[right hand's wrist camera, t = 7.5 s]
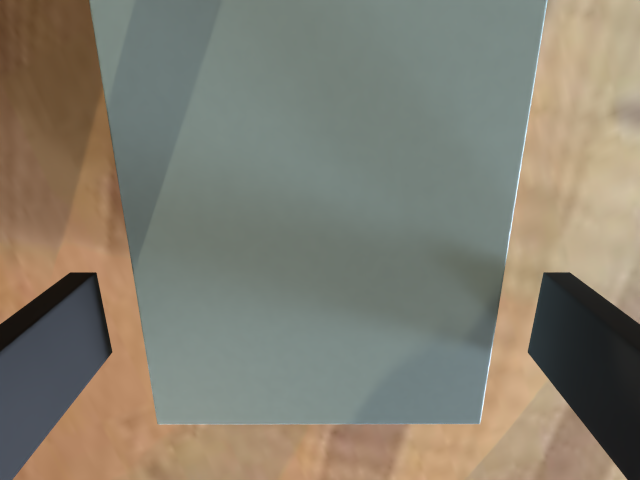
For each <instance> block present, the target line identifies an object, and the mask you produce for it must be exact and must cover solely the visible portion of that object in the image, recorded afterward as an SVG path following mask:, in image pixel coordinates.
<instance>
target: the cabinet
mask: <svg viewBox="0 0 640 480" xmlns="http://www.w3.org/2000/svg"><path fill="white" fill-rule="evenodd" d="M89 3H90V9H91V15H92V21H93V27H94V34H95V40H96V46H97V52H98V58H99V65H100V71H101V77H102V83H103V89H104V95H105V102H106V108H107V114H108V120H109V126H110V133H111V139H112V145H113V151H114V157H115V164H116V170H117V176H118V182H119V188H120V195H121V201H122V207H123V213H124V219H125V226H126V232H127V238H128V244H129V250H130V256H131V263H132V269H133V275H134V281H135V287H136V294H137V300H138V306H139V312H140V318H141V325H142V331H143V337H144V343H145V349H146V356H147V362H148V368H149V374H150V380H151V386H152V393H153V399H154V405H155V411H156V417H157V423H158V424H480V421H481V415H482V408H483V402H484V396H485V389H486V383H487V377H488V370H489V364H490V358H491V352H492V345H493V339H494V333H495V326H496V320H497V314H498V308H499V301H500V295H501V289H502V282H503V276H504V270H505V264H506V257H507V251H508V245H509V238H510V232H511V226H512V220H513V213H514V207H515V201H516V194H517V188H518V182H519V176H520V169H521V163H522V157H523V150H524V144H525V138H526V132H527V125H528V119H529V113H530V106H531V100H532V94H533V88H534V81H535V75H536V69H537V62H538V56H539V50H540V44H541V37H542V31H543V25H544V18H545V12H546V6H547V0H89Z"/></svg>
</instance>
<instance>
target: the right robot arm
mask: <svg viewBox="0 0 640 480" xmlns="http://www.w3.org/2000/svg"><path fill="white" fill-rule="evenodd" d="M111 353H112V348H111V343H110V338H109V333H108V328H107V323H106V318H105V313H104V308H103V303H102V298H101V293H100V288H99V283H98V278H97V273H69V274H68V275H66V276H65V277H64V278H62V279H61V280H59V281H58V282H57V283H55V284H54V285H53V286H51V287H50V288H49V289H47V290H46V291H45V292H43V293H42V294H41V295H39V296H38V297H37V298H35V299H34V300H33V301H31V302H30V303H28V304H27V305H26V306H24V307H23V308H22V309H20V310H19V311H18V312H16V313H15V314H14V315H12V316H11V317H10V318H8V319H7V320H6V321H4V322H3V323H2V324H0V480H12V479H13V478H14V477H15V476H16V474H17V473H18V472H19V471H20V469H21V468H22V467H23V465H24V464H25V463H26V462H27V460H28V459H29V458H30V457H31V455H32V454H33V453H34V451H35V450H36V449H37V448H38V446H39V445H40V444H41V442H42V441H43V440H44V439H45V437H46V436H47V435H48V434H49V432H50V431H51V430H52V428H53V427H54V426H55V425H56V423H57V422H58V421H59V420H60V418H61V417H62V416H63V414H64V413H65V412H66V411H67V409H68V408H69V407H70V405H71V404H72V403H73V402H74V400H75V399H76V398H77V397H78V395H79V394H80V393H81V391H82V390H83V389H84V388H85V386H86V385H87V384H88V383H89V381H90V380H91V379H92V377H93V376H94V375H95V374H96V372H97V371H98V370H99V369H100V367H101V366H102V365H103V363H104V362H105V361H106V360H107V358H108V357H109V356H110V354H111ZM528 353H529V354H530V356H531V357H532V358H533V360H534V361H535V362H536V363H537V365H538V366H539V367H540V369H541V370H542V371H543V372H544V374H545V375H546V376H547V377H548V379H549V380H550V381H551V383H552V384H553V385H554V386H555V388H556V389H557V390H558V391H559V393H560V394H561V395H562V397H563V398H564V399H565V400H566V402H567V403H568V404H569V405H570V407H571V408H572V409H573V411H574V412H575V413H576V414H577V416H578V417H579V418H580V420H581V421H582V422H583V423H584V425H585V426H586V427H587V428H588V430H589V431H590V432H591V434H592V435H593V436H594V437H595V439H596V440H597V441H598V442H599V444H600V445H601V446H602V448H603V449H604V450H605V451H606V453H607V454H608V455H609V457H610V458H611V459H612V460H613V462H614V463H615V464H616V465H617V467H618V468H619V469H620V471H621V472H622V473H623V474H624V476H625V477H626V478H627V479H628V480H640V324H638V323H637V322H636V321H634V320H633V319H632V318H630V317H629V316H628V315H626V314H625V313H624V312H622V311H621V310H620V309H618V308H617V307H616V306H614V305H613V304H612V303H610V302H609V301H607V300H606V299H605V298H603V297H602V296H601V295H599V294H598V293H597V292H595V291H594V290H593V289H591V288H590V287H589V286H587V285H586V284H585V283H583V282H582V281H581V280H579V279H578V278H576V277H575V276H574V275H572V274H571V273H543V278H542V283H541V288H540V293H539V298H538V303H537V308H536V313H535V318H534V323H533V328H532V333H531V338H530V343H529V348H528Z"/></svg>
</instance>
